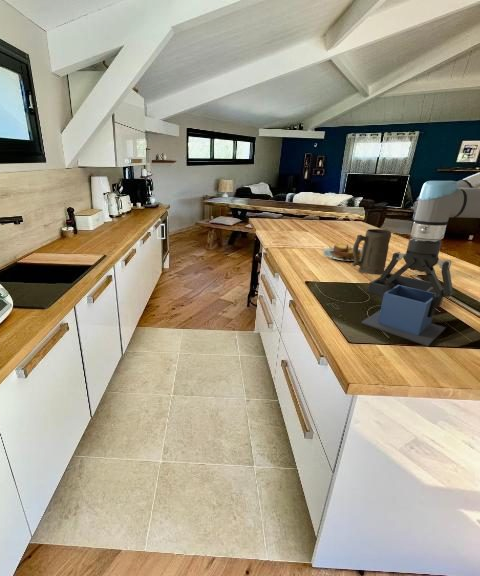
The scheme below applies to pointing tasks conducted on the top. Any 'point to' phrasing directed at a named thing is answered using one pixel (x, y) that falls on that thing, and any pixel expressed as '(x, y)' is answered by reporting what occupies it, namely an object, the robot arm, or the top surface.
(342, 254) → the food on plate
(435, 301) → the robot arm
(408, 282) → the charcoal bin
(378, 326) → the mat
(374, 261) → the beer stein
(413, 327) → the blue bin
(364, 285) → the top surface
